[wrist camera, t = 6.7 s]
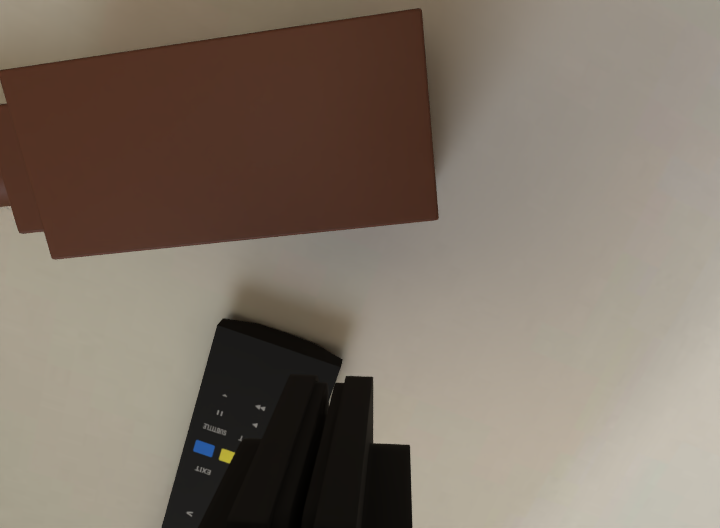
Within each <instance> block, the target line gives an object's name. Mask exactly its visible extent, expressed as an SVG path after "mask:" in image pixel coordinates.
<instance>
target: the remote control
mask: <svg viewBox="0 0 720 528" xmlns="http://www.w3.org/2000/svg"><path fill="white" fill-rule="evenodd" d="M342 360H343V359H341V358H339V357H337V356H336V355H334V354H332V353H330V352H329V351H327V350H325V349H324V348H322V347H320V346H318V345H317V344H315V343H312V342H310V341H307V340H304V339H302V338H299V337H296V336H294V335H291V334H288V333H285V332H282V331H279V330H276V329H273V328H269V327H266V326H263V325H260V324H256V323H250V322H243V321H236V320H230V319H222V320H221V322H220V323H219V324H218V325H217V328H216V332H215V336H214V339H213V343H212V346H211V350H210V354H209V357H208V361H207V365H206V368H205V372H204V376H203V379H202V383H201V386H200V390H199V394H198V397H197V401H196V405H195V408H194V412H193V416H192V419H191V423H190V426H189V430H188V434H187V437H186V441H185V445H184V448H183V452H182V455H181V459H180V463H179V466H178V470H177V474H176V477H175V481H174V485H173V488H172V492H171V495H170V499H169V503H168V506H167V510H166V514H165V517H164V521H163V524H162V528H198V526H199V524H200V522H201V520H202V518H203V516H204V514H205V512H206V510H207V508H208V506H209V504H210V502H211V500H212V498H213V496H214V494H215V492H216V490H217V488H218V486H219V484H220V482H221V480H222V478H223V476H224V474H225V472H226V470H227V468H228V466H229V464H230V462H231V460H232V458H233V456H234V454H235V452H236V450H237V448H238V446H239V444H240V443H241V441H242V440H243V439H245V438H256V439H262V437H263V435H264V433H265V431H266V428H267V426H268V424H269V421H270V419H271V417H272V414H273V412H274V410H275V407H276V405H277V403H278V401H279V398H280V396H281V394H282V391H283V389H284V387H285V384H286V382H287V380H288V378H289V376H290V374H298V375H318V379H319V382H325V383H328V395H329V398H330V395H331V393H332V390H333V387H334V384H335V382H336V379H337V376H338V373H339V371H340V368H341V364H342Z"/></svg>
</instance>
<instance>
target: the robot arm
mask: <svg viewBox="0 0 720 528" xmlns="http://www.w3.org/2000/svg"><path fill="white" fill-rule="evenodd" d="M198 528H412V500H411V465H410V445H399V444H375V443H373V377H361V376H346V378H345V382H344V383H335V385H334V389H333V393H332V397H331V401H330V405H329V395H328V383H325V382H319V379H318V375H298V374H290V376H289V378H288V380H287V382H286V384H285V387H284V389H283V391H282V394H281V396H280V398H279V401H278V403H277V405H276V407H275V410H274V412H273V414H272V417H271V419H270V421H269V424H268V426H267V428H266V431H265V433H264V435H263V437H262V439H256V438H245V439H243V440H242V441H241V443H240V444H239V446H238V448H237V450H236V452H235V454H234V456H233V458H232V460H231V462H230V464H229V466H228V468H227V470H226V472H225V474H224V476H223V478H222V480H221V482H220V484H219V486H218V488H217V490H216V492H215V494H214V496H213V498H212V500H211V502H210V504H209V506H208V508H207V510H206V512H205V514H204V516H203V518H202V520H201V522H200V524H199V526H198Z"/></svg>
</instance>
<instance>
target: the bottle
mask: <svg viewBox="0 0 720 528" xmlns="http://www.w3.org/2000/svg"><path fill="white" fill-rule="evenodd" d="M0 80H1V84H2V87H3V91H4V94H5V98H6V101H7V104H1V105H0V207H4V206H11V208H12V211H13V215H14V218H15V221H16V225H17V228H18V231H19V233H22V234H24V233H33V232H42V231H44V233H45V236H46V240H47V243H48V247H49V250H50V254H51V257H52V259H64V258H74V257H83V256H93V255H103V254H113V253H122V252H132V251H142V250H151V249H161V248H171V247H181V246H190V245H200V244H210V243H219V242H229V241H239V240H248V239H258V238H268V237H278V236H287V235H297V234H307V233H316V232H326V231H336V230H346V229H355V228H365V227H375V226H384V225H394V224H404V223H414V222H423V221H433V220H437V219H438V218H439V216H438V204H437V192H436V179H435V167H434V155H433V142H432V130H431V118H430V105H429V93H428V81H427V68H426V56H425V44H424V31H423V19H422V10H421V9H419V8H417V9H410V10H404V11H397V12H390V13H383V14H377V15H370V16H363V17H356V18H350V19H343V20H336V21H329V22H323V23H316V24H309V25H302V26H296V27H289V28H282V29H275V30H269V31H262V32H255V33H248V34H242V35H235V36H228V37H221V38H214V39H208V40H201V41H194V42H187V43H181V44H174V45H167V46H160V47H154V48H147V49H140V50H133V51H127V52H120V53H113V54H106V55H100V56H93V57H86V58H79V59H73V60H66V61H59V62H52V63H46V64H39V65H32V66H25V67H19V68H12V69H5V70H0Z"/></svg>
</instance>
